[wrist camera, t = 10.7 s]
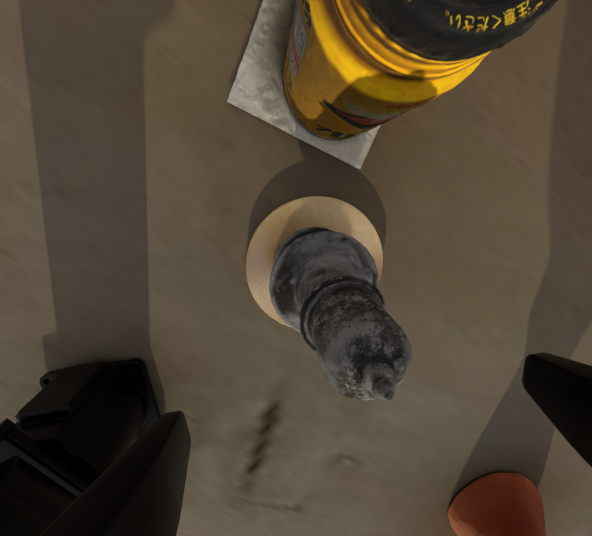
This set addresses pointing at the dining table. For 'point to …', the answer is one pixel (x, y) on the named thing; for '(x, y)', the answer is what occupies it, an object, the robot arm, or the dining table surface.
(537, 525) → the goblet
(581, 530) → the dining table surface
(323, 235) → the grey carved stone piece
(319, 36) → the condiment
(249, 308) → the dining table surface
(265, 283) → the coaster
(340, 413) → the dining table surface
